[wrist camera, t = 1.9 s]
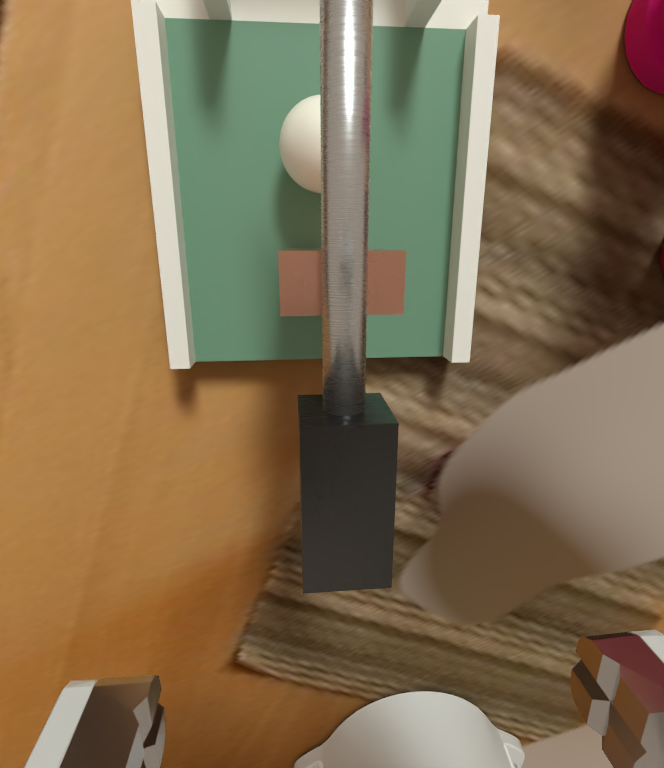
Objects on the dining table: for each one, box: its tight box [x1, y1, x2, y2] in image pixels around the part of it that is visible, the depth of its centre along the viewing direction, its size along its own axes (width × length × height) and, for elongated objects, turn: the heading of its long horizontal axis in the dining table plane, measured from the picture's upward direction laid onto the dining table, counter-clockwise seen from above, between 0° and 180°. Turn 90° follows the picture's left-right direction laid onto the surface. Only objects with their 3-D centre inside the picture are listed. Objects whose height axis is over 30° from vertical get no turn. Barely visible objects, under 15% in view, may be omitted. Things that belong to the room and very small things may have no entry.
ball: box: [279, 95, 321, 193], centre depth 21 cm, size 4×4×4 cm
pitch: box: [131, 0, 500, 369], centre depth 22 cm, size 22×16×6 cm
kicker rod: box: [278, 0, 406, 593], centre depth 18 cm, size 23×4×12 cm, turn 0°
